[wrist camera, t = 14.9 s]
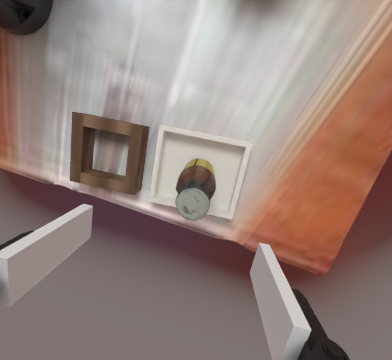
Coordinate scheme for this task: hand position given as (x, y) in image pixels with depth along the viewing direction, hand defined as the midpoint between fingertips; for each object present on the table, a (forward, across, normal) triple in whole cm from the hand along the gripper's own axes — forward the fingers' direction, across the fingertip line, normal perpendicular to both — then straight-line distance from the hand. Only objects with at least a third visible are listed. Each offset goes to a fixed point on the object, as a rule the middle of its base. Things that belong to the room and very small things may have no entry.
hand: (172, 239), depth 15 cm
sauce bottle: (+28, 0, 0) cm, 28 cm away
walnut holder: (+28, -19, 0) cm, 34 cm away
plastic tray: (+28, 0, 0) cm, 29 cm away
